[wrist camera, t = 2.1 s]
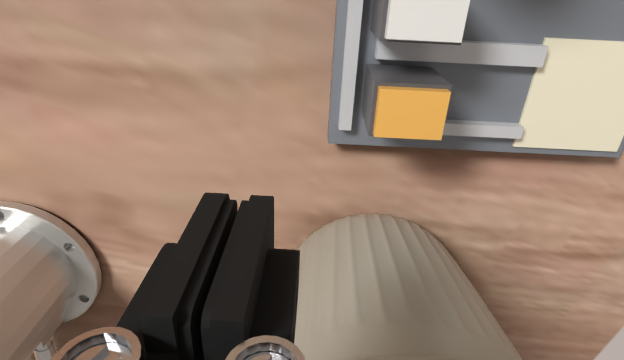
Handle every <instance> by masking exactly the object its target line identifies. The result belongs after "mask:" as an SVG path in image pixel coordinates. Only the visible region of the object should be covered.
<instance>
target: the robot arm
mask: <svg viewBox="0 0 624 360" xmlns="http://www.w3.org/2000/svg"><path fill="white" fill-rule="evenodd" d="M299 268H300V250H287V249H274V197H273V196H258V195H251V196H250V199H249V201H244V200H243V201H242V202H241V204H240V207H239V210H238V211H237V201H236V200H230V198H229V195H228V194H222V193H205V194H204V195H203V197H202V199H201V200H200V202H199V204H198V206H197V208H196V210H195V212H194V213H193V215H192V217H191V219H190V221H189V223H188V225H187V227H186V228H185V230H184V232H183V234H182V236H181V238H180V240H179V241H178V243H167V244H165V245H164V246H163V247H162V249H161V250H160V252H159V254H158V256H157V257H156V259H155V261H154V262H153V264H152V266H151V268H150V269H149V271H148V273H147V274H146V276H145V278H144V280H143V281H142V283H141V285H140V287H139V288H138V290H137V292H136V293H135V295H134V297H133V299H132V300H131V302H130V304H129V305H128V307H127V309H126V311H125V312H124V314H123V316H122V317H121V319H120V321H119V323H118V324H117V326H116V327H109V326H108V327H103V328H97V329H93V330H91V331H88V332H85V333H83V334H80V335H79V336H77V337H75V338H74V339H72V340H71V341H69V342H67V343H66V344H65V345H64V346H63V347H62V348H61V349H60V350H59V351H58V352H56V350H55V347H54V344H53V342H52V340H51V337H52V335H53V334H54V333H55V331H56V330H57V329H58V327H59V326H60V324H61V323H63V322H68V321H70V320H73V319H75V318H77V317H79V316H80V315H82V314H83V313H84V312H86V311H87V310H88V308H89V307H90V306H91V305H92V303H93V302H94V300H95V299H96V297H97V295H98V294H99V291H100V288H101V284H102V273H101V269H100V265H99V262H98V260H97V258H96V256H95V254H94V252H93V250H92V249H91V247H90V246H89V245H88V243H87V242H86V241H85V239H84V238H83V237H82V236H81V235H79V234H78V233H77V232H76V231H75V230H74V229H73V228H72V227H70V226H69V225H68V224H66V223H65V222H64V221H62V220H61V219H59V218H57V217H55V216H53V215H52V214H50V213H48V212H46V211H43V210H41V209H38V208H35V207H33V206H29V205H25V204H21V203H17V202H7V201H0V360H35V355H34V353H33V352H34V350H36V353H37V356H38V358H39V360H305V356H304V355H303V353H302V352H301V351H300V349H299V348H298V347H297V346H296V345H294V340H295V328H296V316H297V304H298V289H299Z"/></svg>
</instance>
